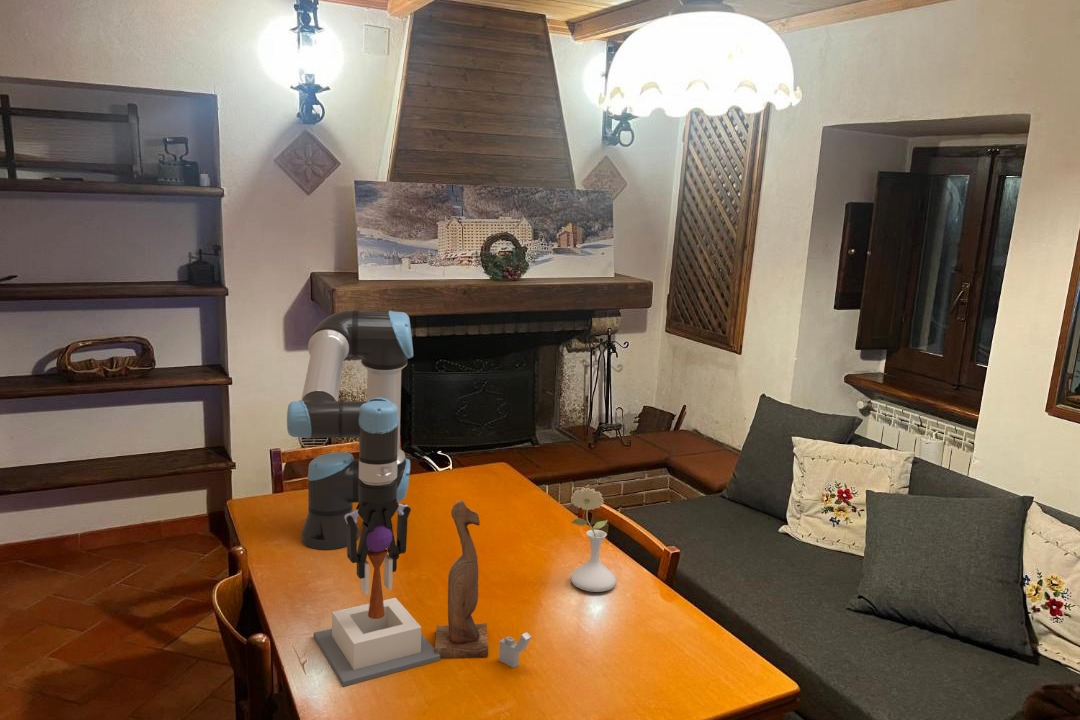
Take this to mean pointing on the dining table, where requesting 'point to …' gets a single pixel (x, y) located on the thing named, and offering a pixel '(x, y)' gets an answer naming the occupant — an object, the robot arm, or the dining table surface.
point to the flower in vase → (592, 546)
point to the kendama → (377, 567)
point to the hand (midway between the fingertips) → (376, 589)
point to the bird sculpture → (462, 597)
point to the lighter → (512, 649)
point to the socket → (374, 643)
